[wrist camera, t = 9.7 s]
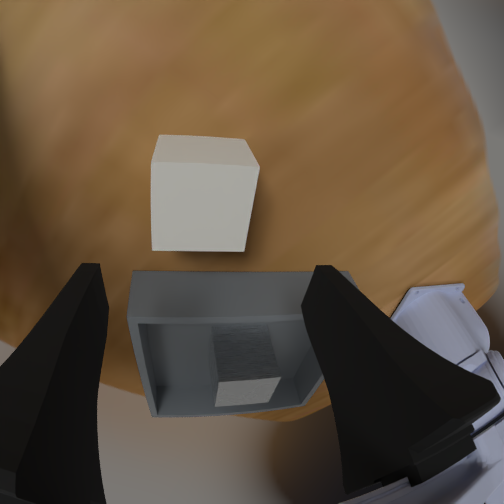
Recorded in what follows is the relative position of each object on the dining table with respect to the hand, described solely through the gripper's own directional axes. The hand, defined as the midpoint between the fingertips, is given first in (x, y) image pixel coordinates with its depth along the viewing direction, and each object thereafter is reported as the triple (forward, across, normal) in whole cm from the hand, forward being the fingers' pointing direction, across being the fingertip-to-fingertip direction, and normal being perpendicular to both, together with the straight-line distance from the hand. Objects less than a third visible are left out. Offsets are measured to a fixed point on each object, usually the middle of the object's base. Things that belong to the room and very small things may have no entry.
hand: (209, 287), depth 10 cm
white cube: (+9, 0, 0) cm, 9 cm away
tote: (+8, -4, +15) cm, 18 cm away
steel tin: (+8, -4, +14) cm, 17 cm away
